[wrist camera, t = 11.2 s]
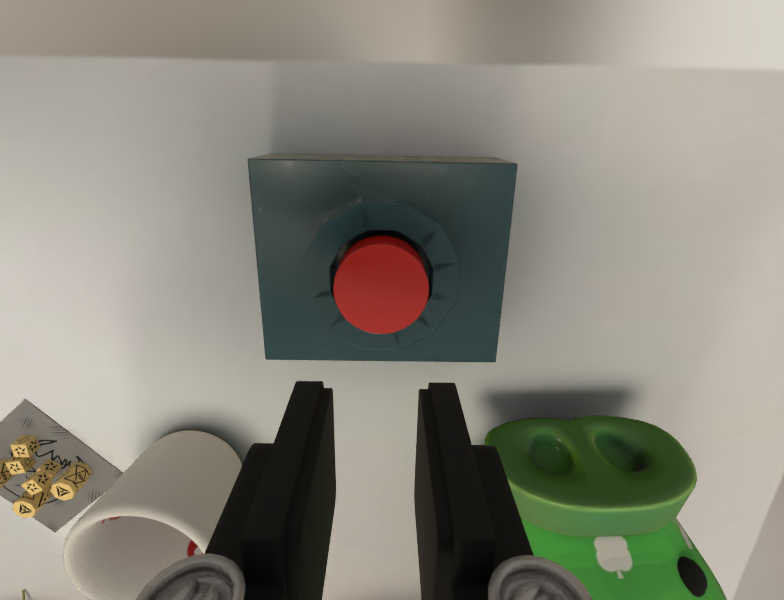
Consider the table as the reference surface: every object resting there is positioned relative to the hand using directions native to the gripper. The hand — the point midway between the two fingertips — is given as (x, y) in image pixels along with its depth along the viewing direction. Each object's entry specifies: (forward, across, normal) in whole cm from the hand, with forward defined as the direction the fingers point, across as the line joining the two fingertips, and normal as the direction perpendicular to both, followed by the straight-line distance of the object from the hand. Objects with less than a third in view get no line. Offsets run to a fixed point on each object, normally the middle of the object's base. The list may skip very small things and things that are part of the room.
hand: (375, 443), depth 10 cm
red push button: (+12, 0, 0) cm, 12 cm away
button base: (+17, 0, 0) cm, 17 cm away
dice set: (+17, +23, +16) cm, 33 cm away
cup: (+17, +13, +16) cm, 27 cm away
